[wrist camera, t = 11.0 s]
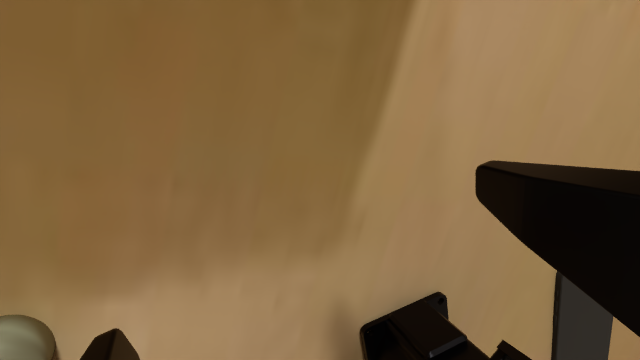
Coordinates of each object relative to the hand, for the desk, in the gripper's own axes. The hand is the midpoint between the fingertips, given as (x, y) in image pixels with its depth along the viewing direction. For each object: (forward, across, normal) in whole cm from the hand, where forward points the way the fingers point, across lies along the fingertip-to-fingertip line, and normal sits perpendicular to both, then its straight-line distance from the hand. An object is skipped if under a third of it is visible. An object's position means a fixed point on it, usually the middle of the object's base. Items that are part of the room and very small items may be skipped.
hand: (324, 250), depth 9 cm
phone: (+8, -23, +27) cm, 36 cm away
